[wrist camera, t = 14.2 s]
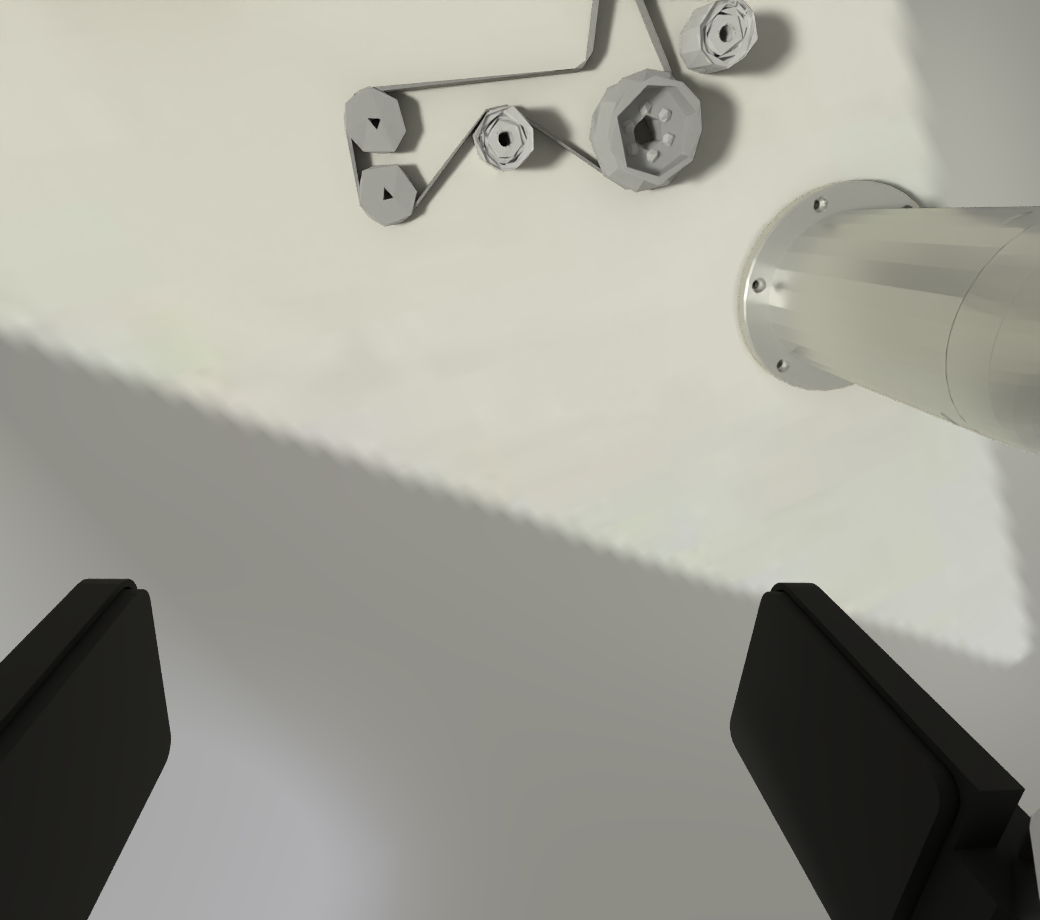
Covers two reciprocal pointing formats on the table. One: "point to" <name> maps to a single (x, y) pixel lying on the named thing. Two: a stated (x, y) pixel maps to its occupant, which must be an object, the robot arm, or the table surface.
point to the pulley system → (646, 94)
